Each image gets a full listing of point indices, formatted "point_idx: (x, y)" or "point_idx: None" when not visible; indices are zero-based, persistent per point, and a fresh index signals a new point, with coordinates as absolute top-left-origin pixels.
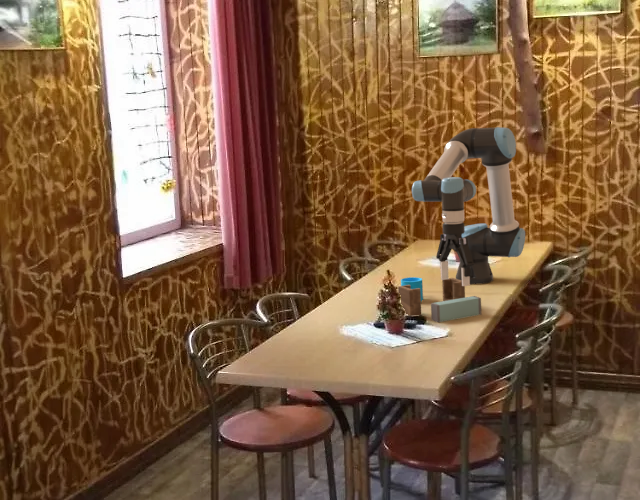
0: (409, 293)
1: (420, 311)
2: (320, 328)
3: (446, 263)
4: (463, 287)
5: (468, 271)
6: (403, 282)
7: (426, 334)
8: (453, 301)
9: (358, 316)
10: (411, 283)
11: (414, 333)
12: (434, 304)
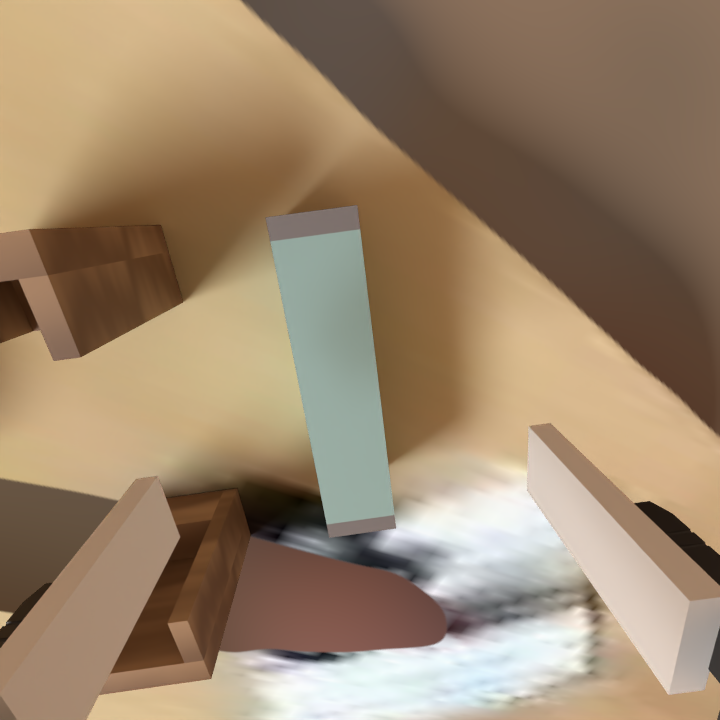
0: (217, 655)
1: (232, 507)
2: None
3: (45, 673)
4: (76, 241)
5: (715, 571)
6: None
7: (528, 558)
8: (354, 419)
9: None
10: None
11: (488, 586)
12: (366, 531)
